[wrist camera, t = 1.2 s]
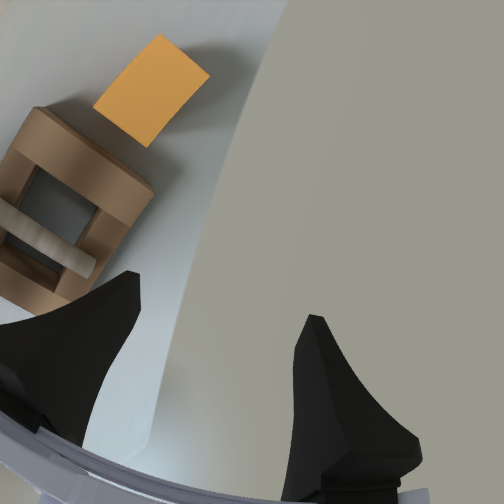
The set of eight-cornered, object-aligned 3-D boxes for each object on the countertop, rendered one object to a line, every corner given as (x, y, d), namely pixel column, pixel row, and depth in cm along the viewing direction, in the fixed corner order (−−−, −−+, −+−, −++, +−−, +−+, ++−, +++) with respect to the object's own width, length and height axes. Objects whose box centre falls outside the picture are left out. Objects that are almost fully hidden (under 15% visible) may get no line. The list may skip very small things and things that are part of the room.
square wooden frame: (-27, 253, 17) (-46, 280, 13) (44, 106, 16) (27, 106, 12) (69, 310, 24) (65, 343, 20) (150, 184, 22) (158, 200, 19)
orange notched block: (100, 108, 18) (92, 107, 13) (148, 54, 17) (159, 33, 12) (139, 138, 20) (146, 147, 15) (186, 85, 20) (210, 76, 15)
